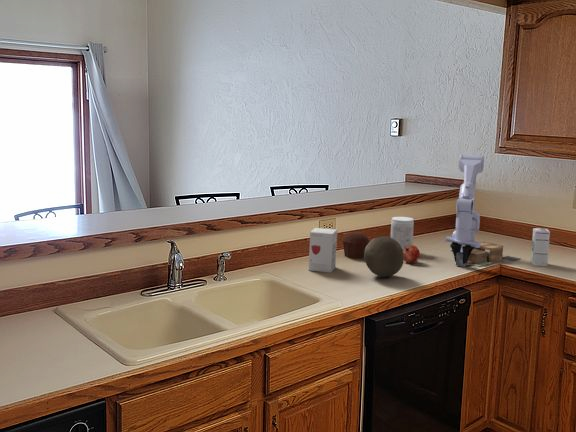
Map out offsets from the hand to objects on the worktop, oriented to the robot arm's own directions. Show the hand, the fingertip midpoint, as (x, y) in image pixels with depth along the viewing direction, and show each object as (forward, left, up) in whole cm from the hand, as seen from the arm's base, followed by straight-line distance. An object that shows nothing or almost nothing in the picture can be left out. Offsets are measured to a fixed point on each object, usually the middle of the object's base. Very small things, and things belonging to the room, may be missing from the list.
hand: (460, 262), depth 245 cm
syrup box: (+18, +29, -2) cm, 34 cm away
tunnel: (0, +20, -2) cm, 20 cm away
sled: (0, +7, -1) cm, 7 cm away
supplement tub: (-30, +1, -2) cm, 30 cm away
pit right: (+6, +29, -2) cm, 30 cm away
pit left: (-3, +29, -2) cm, 29 cm away
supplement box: (-31, -47, -2) cm, 56 cm away
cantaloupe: (-9, -38, -2) cm, 39 cm away
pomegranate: (-16, -11, -2) cm, 19 cm away
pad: (0, +10, -2) cm, 10 cm away
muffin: (-37, -21, -2) cm, 42 cm away
